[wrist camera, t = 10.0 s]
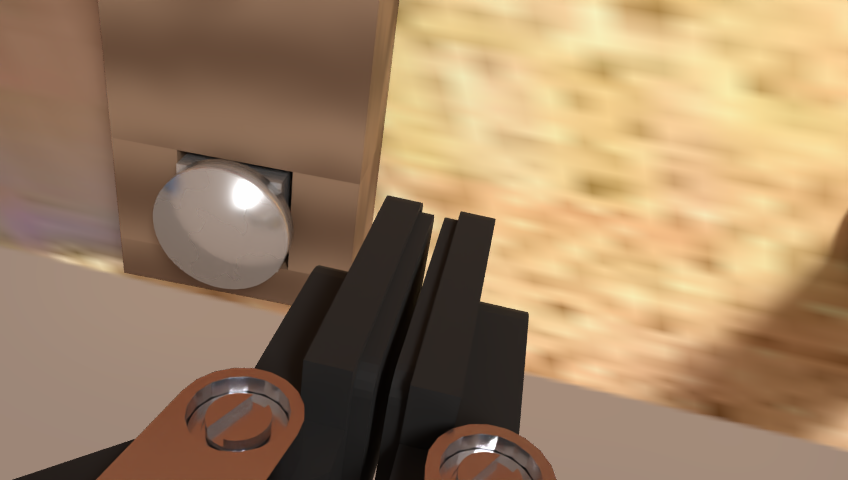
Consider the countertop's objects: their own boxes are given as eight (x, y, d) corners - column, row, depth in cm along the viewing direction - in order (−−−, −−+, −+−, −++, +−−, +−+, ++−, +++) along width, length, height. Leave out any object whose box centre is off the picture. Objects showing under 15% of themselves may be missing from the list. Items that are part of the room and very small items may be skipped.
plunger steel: (211, 102, 38) (148, 157, 31) (329, 124, 37) (289, 184, 31) (212, 206, 41) (156, 275, 35) (320, 227, 41) (283, 300, 35)
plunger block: (145, -326, 29) (62, -357, 24) (432, -279, 29) (411, -300, 23) (173, 218, 43) (124, 272, 37) (368, 255, 42) (345, 315, 37)
